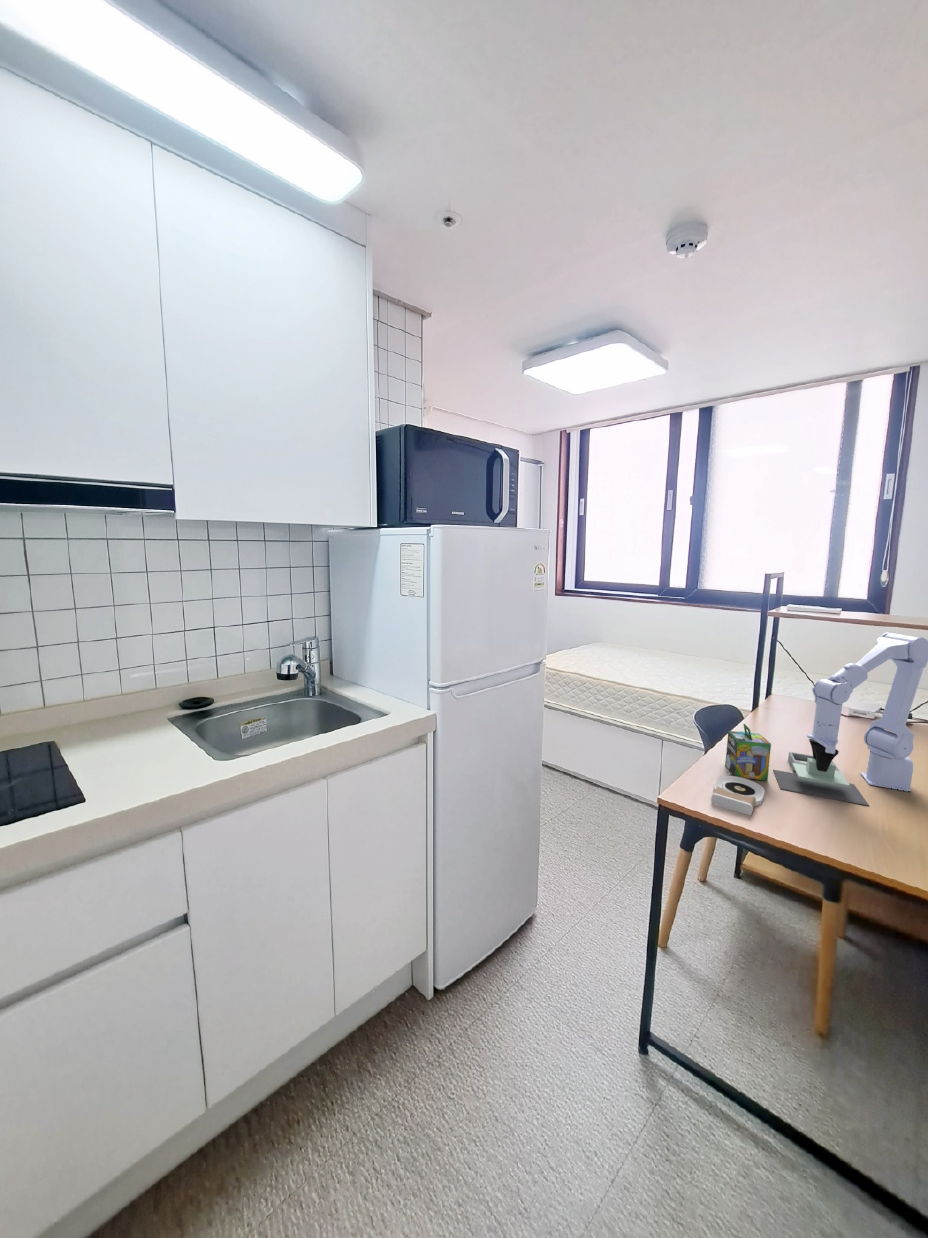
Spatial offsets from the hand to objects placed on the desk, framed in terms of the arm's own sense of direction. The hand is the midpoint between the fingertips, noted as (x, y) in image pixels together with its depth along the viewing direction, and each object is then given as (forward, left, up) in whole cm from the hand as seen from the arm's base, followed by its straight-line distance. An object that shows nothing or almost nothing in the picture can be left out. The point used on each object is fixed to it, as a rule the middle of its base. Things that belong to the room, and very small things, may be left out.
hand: (820, 768), depth 137 cm
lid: (0, 0, -3) cm, 3 cm away
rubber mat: (0, 0, -6) cm, 6 cm away
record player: (+21, +16, -6) cm, 27 cm away
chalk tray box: (-1, -13, -6) cm, 14 cm away
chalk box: (+18, -1, -6) cm, 19 cm away
